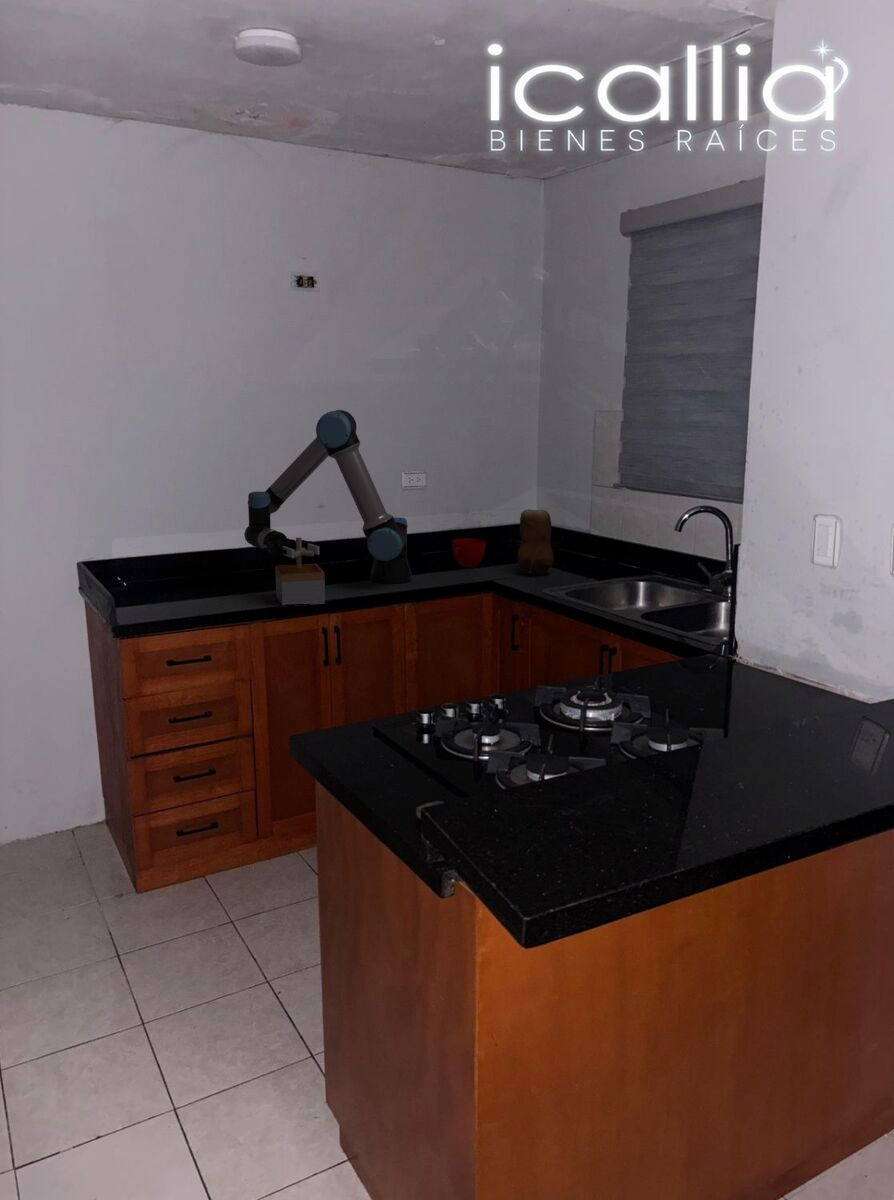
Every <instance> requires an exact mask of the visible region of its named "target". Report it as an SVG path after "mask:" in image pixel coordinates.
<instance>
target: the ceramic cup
mask: <svg viewBox="0 0 894 1200" xmlns="http://www.w3.org/2000/svg"><path fill="white" fill-rule="evenodd" d="M486 543H487V542H486V540H485V539H480V538H474V537H473V538H472V537H471V538H470V537H464V538H456V539H453V540H452V552H453V557H454V559H455V561H456V563H458V565H459V566H460V567H461V568H465V569H466V568H467V569H468V568H469V569H473V568H477V567H478V566H479V565H480V563H481V562H482V561H483V559H484V556H485V551H486V545H487V544H486Z"/></svg>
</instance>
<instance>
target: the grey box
mask: <svg viewBox="0 0 894 1200" xmlns="http://www.w3.org/2000/svg"><path fill="white" fill-rule="evenodd" d="M325 575H326V574H325V571H324V570H323V569H322V568H321V567H320V566H319V565H318V564H317V563H308V564H307V563H305V564H303V563H302V568H296V564H287V565H284V564H283V565H275V592H276V596H277V597H276V599H277V600H278V599H279V600H278V601H280V602H281V603H280V602H279V603H280V605H281V604H282V605H286V604H310V605H324V604H326V595H325V594H326V589H325V588H326V587H325V586H326V585H325V584H326V582H325V581H326V580H325V579H326V578H325ZM282 605H281V606H282Z"/></svg>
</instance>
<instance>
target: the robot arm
mask: <svg viewBox="0 0 894 1200" xmlns="http://www.w3.org/2000/svg"><path fill="white" fill-rule="evenodd" d="M315 432H316V437H315V439H313V441H311V442H310V444H308V446H306V448H305V449H304V450H303V451H302V452H301V453H300V454H299V455H298V457H296V459H295V460H294V461H293V462H292V463H291V464H290V465H288V467H287V468H285V470H284V471H283V472H282V474H280V475H278V476H279V477H278V478H276V480H275V481H273V483H272V484H270V486H269V487H268V488H267V489H266V490H265V491H251V492H249V494H248V497H247V498H248V500H247V505H248V509H247V510H248V526H247V527H246V528H245V531H244V532H243V533H244V534H243V535H244V540H245V541H246V543H248V544H249V545H251V546H252V547H255V548H259V549H262V550H264V551H267V552H268V553H269V554H270V555H272V556H273V555H276V554H277V557H279V558H280V557H282V556H286V557H288V558H291V559H295V558H294V550H296V539H293V538H289V537H288V538H287V535H286V534H285V533H284V532H282V531H278V530H275V529H272V528H271V515H272V514H274V513H276V512H277V511H278V510H279V509H280V508H281V506H282V505H284V503H285V502H286V501H287V499H289V498H290V497H291V495H293V494H294V492H296V490H297V489H298V488H299V487H300V486H301V485H302V484H303V483H304V482H305V481H306V480H307V479H308V478H309V477H310V476H311V475H312V474H313V473H314V472H315V470H317V468H319V467H320V465H322V464H323V462H324V461H325V460H326V459H327V458H328V457H329V458H332V459H334V461H335V462H336V463H337V466H338V468H339V470H340V473H341V475H342V478H343V479H344V481H345V483H346V486H347V488H348V490H349V492H350V495H351V496H352V499H353V501H354V504H355V506H356V508H357V510H358V513H359V515H360V517H361V519H362V521H363V526H362V529H361V530H362V532H363V535H364V536H365V539H366V541H367V549H368V552H369V553H370V555H371V556H372V557H373V558H374V560H373V561H374V562H373V564H372V568H371V571H370V574H369V575H370V576H369V577H370V581H372V582H374V583H379V584H390V585H391V584H404V583H408V582H411V581H412V571H411V567H410V564H409V561H408V527H409V526H408V521H407V518H405V517H394V516H393V515H392V514H390V513H387V511H386V509H385V506H384V504H383V501H382V500H381V498H380V494H379V492H378V491H377V488H376V486H375V484H374V481H373V479H372V477H371V475H370V473H369V470H368V468H367V465H366V464H365V461H364V459H363V457H362V454H361V452H360V449H359V448H360V445H361V441H360V438H359V437H358V435H357V422H356V419H355V417H354V416H353V415H352V413H350V412H348V411H346V410H343V409H338V410H337V409H336V410H332V411H331V410H330V411H328V412H326V413H325V414H323V415H321V417H320V418H319V419H318V421H317V423H316V425H315ZM302 548H306V549H307V550H308V551H314V555H316V556H319V555H320V546H319V545H316V542H314V541H312V540H305V539H302Z"/></svg>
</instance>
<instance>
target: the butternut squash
mask: <svg viewBox="0 0 894 1200" xmlns="http://www.w3.org/2000/svg"><path fill="white" fill-rule="evenodd" d="M519 536H520V539H521V540H520V541H521V542H520V546H519V548H518V552H517V562H518V563H517V564H518V567H519V569H521V570H522V571H524V572H525V573H526V574H529V575H532V576H542V575H544V574H545V573H546V572H548V570H550V569H551V567H552V566H553V564H554V560H555V559H554V552H553V549H552V546H551V537H552V519H551V515H550V513H549V512H548V511H547V510H546V509H531V508H530V509H525V510H522V512H521V513H520V518H519Z"/></svg>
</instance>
